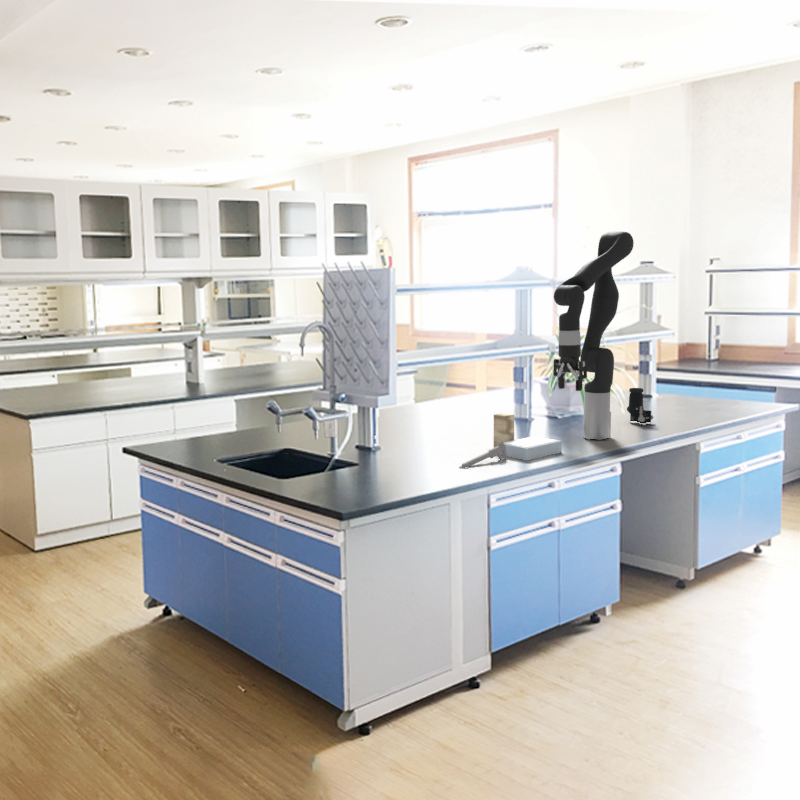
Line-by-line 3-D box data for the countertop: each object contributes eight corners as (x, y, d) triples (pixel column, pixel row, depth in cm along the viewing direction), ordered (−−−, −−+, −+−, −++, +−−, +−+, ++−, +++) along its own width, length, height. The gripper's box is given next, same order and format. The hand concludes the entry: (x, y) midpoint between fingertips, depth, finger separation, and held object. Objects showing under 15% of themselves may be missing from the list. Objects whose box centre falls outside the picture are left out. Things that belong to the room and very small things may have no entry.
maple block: (503, 446, 297) (503, 412, 295) (514, 448, 293) (514, 414, 291) (493, 448, 293) (493, 414, 292) (504, 450, 290) (504, 416, 288)
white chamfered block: (534, 447, 295) (534, 435, 294) (561, 452, 286) (561, 440, 285) (499, 454, 283) (499, 442, 282) (526, 460, 274) (526, 447, 273)
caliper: (503, 459, 278) (504, 440, 277) (506, 459, 277) (506, 441, 276) (458, 468, 265) (458, 449, 264) (461, 469, 264) (461, 449, 263)
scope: (642, 391, 330) (621, 388, 338) (641, 426, 332) (620, 422, 340) (655, 389, 335) (634, 386, 343) (654, 423, 337) (633, 420, 345)
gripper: (592, 343, 289) (592, 390, 291) (563, 341, 301) (563, 386, 303) (576, 345, 285) (576, 392, 287) (547, 343, 297) (548, 388, 299)
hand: (570, 389), depth 295 cm, fingers open, 8 cm apart
